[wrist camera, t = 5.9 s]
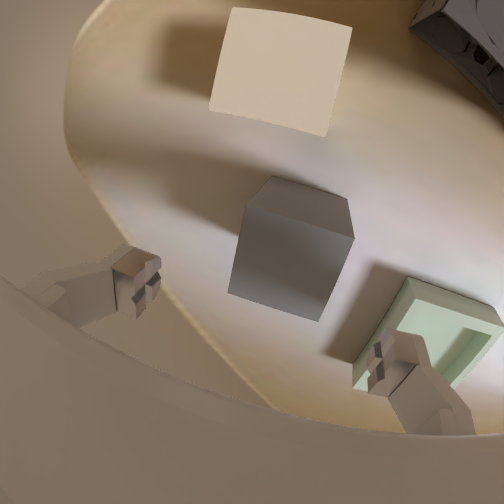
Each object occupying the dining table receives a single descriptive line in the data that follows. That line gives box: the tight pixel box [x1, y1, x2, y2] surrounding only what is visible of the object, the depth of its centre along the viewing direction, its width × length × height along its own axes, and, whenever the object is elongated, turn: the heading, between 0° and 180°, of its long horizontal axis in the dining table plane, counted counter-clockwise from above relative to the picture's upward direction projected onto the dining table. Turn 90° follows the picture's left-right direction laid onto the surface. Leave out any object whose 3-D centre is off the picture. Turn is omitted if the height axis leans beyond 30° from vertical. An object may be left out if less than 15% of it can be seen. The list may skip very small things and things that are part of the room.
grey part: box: [228, 176, 355, 322], centre depth 13 cm, size 4×4×5 cm
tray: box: [352, 276, 504, 391], centre depth 15 cm, size 8×8×2 cm
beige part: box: [208, 7, 353, 138], centre depth 10 cm, size 4×4×5 cm
